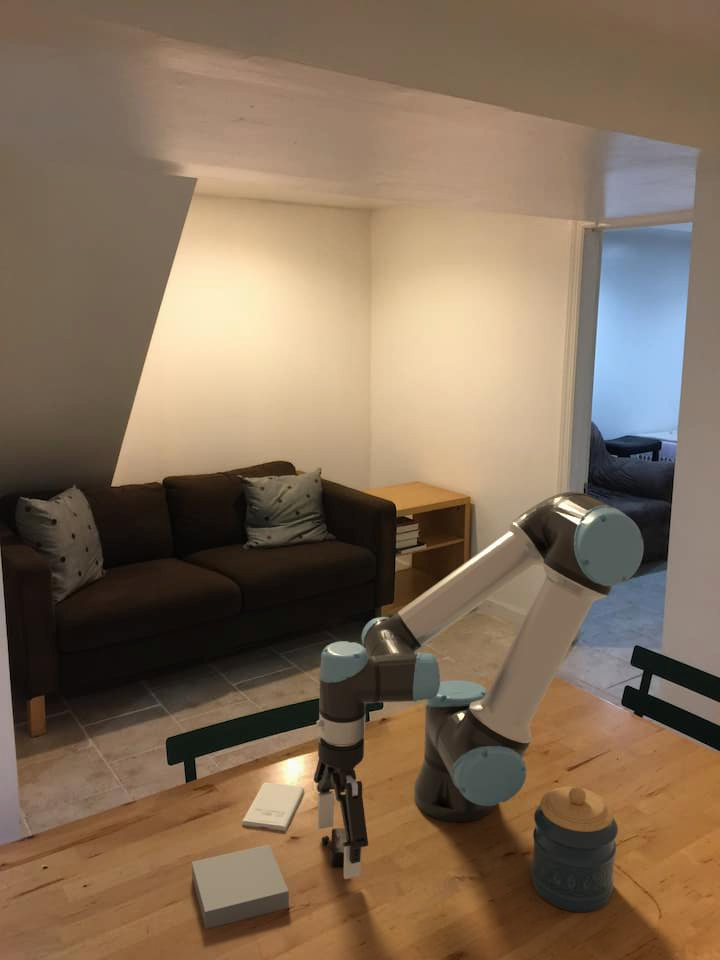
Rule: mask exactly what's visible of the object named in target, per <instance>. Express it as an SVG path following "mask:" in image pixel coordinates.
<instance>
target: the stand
mask: <svg viewBox="0 0 720 960" xmlns="http://www.w3.org/2000/svg"><path fill="white" fill-rule="evenodd" d="M191 878H192V882H193V883H192V884H193V886H194V890H195V893H196V898H197V901H198V905H199V908H200V913H201V916H202V920H203V923H204V929H205V930H207V929H208V930H209V929H211V928H215V927H219V926H223V925H226V924H231V923H234V922H239V921H242V920H246V919H250V918H253V917H254V918H255V917H258V916H263V915H266V914H270V913H273V912H277V911H280V910H285V909H289V908H290V896H289V895H290V891H289V888H288V886H287V883H286V882H285V878H284V876H283V874H282V871H281V870H280V867H279V864H278V862H277V859H276V857H275V855H274V853H273V850H272V848H271V846H270V843H269V844H264V845H261V846H256V847H251V848H247V849H242V850H239V851H233V852H228V853H225V854H220V855H215V856H211V857H207V858H202V859H199V860H194V861H193V860H192V861H191Z"/></svg>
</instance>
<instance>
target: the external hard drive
mask: <svg viewBox="0 0 720 960" xmlns="http://www.w3.org/2000/svg"><path fill="white" fill-rule="evenodd" d="M304 794H305V788H304V787H303V786H298V785H290V784H284V783H282V784H281V783H275V782H266V781H265V782H263V783H262V786H261V787H260V789H259V791H258V792H257V795H256V796H255V797H254V800H253V802H252V803H251V804H250V807H249V809H248V810H247V812H246V814H245V816H244V817H243V820H242V821H241V824H242V826H246V827H247V826H248V827H255V828H266V829H268V830H275V831H276V830H277V831H283V832H286V831H287V829H288V827H289V825H290V822H291V820H292V818H293V816H294V814H295V812H296V810H297V807H298V805H299V803H300V801H301V799H302V797H303V795H304Z"/></svg>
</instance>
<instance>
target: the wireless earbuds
mask: <svg viewBox="0 0 720 960" xmlns="http://www.w3.org/2000/svg"><path fill="white" fill-rule="evenodd" d="M330 838H331V840H330ZM346 840H347V838H346V832H345V828H332V829H331V837H329V836H328V835H324V836H322V838H321V845H322V847H323V848H325V847H328V845H329V844H330V861H329V863H330V867H331V868H334V869H337V868H338V869H340V868H341V869H342V868H343V869H344V845H343V843H344V842H345V841H346Z"/></svg>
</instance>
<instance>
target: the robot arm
mask: <svg viewBox="0 0 720 960" xmlns="http://www.w3.org/2000/svg"><path fill="white" fill-rule="evenodd" d="M508 528H509V529H508V531H507V532H506V533H504V534H503V535H501V536H500V537H498V538H497V539H496V540H494V541H493V542H492V543H490V544H489V545H488V546H486V547H485V548H483V549H482V550H481V551H480V552H478V553H477V554H475V555H474V556H473V557H471V558H470V559H469V560H467V561H466V562H464V563H463V564H462V565H460V566H459V567H457V568H456V569H455V570H453V571H452V572H450V574H448V575H446V576H445V577H444V578H443V579H441V580H440V581H438V582H437V583H436V584H434V585H433V586H432V587H430V588H428V590H426V591H424V592H423V593H422V594H421V595H419V596H418V597H416V598H415V599H414V600H412V601H411V602H409V603H408V604H407V605H405V606H404V607H403V608H401V609H400V610H399V611H397V612H395V614H393V615H392V616H390V617H387V616H381V617H380V616H379V617H376V618H372V619H371V620H369V621H368V622H367V623H366V624H365V626H364V627H363V630H362V632H361V643H362V644H360V643H358V642H354V641H353V642H349V641H348V640H347V641H346V640H345V641H343V640H342V641H335V642H332V643H330V644H328V645H326V646H325V647H324V648H323V650H322V651H321V654H320V655H321V658H320V669H319V672H318V675H319V704H318V705H319V711H318V712H319V714H318V716H319V718H318V719H319V720H316V722H315V723H316V727H318V734H319V736H318V743H317V744H318V746H317V747H318V749H317V755H318V756H317V757H318V761H317V765H316V768H315V772H314V776H313V781H314V783H315V784H317V785H316V791H317V792H318V794H317V795H318V797H317V800H318V801H317V803H318V804H317V828H318V830H322V829H326V828H332V827H334V816H335V815H334V814H335V812H334V811H335V799H336V800H337V801H338V802H339V804H340V810H341V815H342V816H341V817H342V821H343V825H344V829H345V832H346V838H347V840H346V841H345V842H344V843H343V845H344V868H343V879H344V880H349V879H352V878H356V877H360V876H361V875H362V874H361V872H362V851H363V849H362V848H366V847H368V846H369V840H368V838H369V837H368V832H367V823H366V814H365V807H364V799H363V798H364V797H363V783H362V781H361V780H359V781H358V780H357V775H356V771H355V768H356V766H358V765H359V764H360V763H361V762H362V761H363V759H364V753H365V738H364V737H365V733H366V705H367V704H377V703H396V702H397V703H400V702H414V703H415V702H417V701H423V700H425V702H424V706H425V714H424V715H425V716H424V717H425V718H424V719H425V720H424V721H425V722H424V723H425V724H424V754H423V756H424V757H423V758H424V759H423V761H422V763H421V765H420V766H421V767H420V769H419V771H418V774H417V777H416V779H415V782H414V786H413V789H414V790H413V798H414V803H415V804H416V806H417V807H418V808H419V809H420V810H421V811H422V812H424V814H426V815H428V816H430V817H432V818H433V819H437V820H440V821H444V822H448V823H450V822H451V823H467V822H473V821H477V820H479V819H481V818H483V817H485V816H486V815H488V814H489V813H490V812H491V810H492V809H493V808H494V806H496V805H498V804H500V803H505V802H508V801H510V800H511V799H512V798H514V797H515V796H516V795H517V794H518V793H519V792H520V791H521V789H522V788H523V786H524V784H525V782H526V779H527V768H526V763H525V760H524V759H523V757H524V755H525V754H526V751H527V749H528V747H529V745H530V744H531V742H532V740H533V735H532V733H531V731H530V730H531V729H530V723H531V722H532V720H533V717H534V716H535V714H536V712H537V710H538V708H539V706H540V704H541V703H542V701H543V698H544V697H545V695H546V693H547V691H548V689H549V687H550V685H551V683H552V682H553V680H554V677H555V676H556V675H557V674H556V673H557V672H558V670H559V668H560V666H561V664H562V662H563V660H564V658H565V656H566V655H567V652H568V651H569V650H570V647H571V645H572V644H573V641H574V639H575V638H576V636H577V634H578V632H579V630H580V628H581V626H582V624H583V623H584V621H585V619H586V617H587V615H588V613H589V611H590V609H591V607H592V606H593V603H594V602H595V601H599V600H600V599H604V598H607V597H608V595H609V594H610V592H611V589H612V588H613V587H614V586H616V585H620V584H622V582H623V581H627V580H629V579H631V577H632V576H634V575H635V574H636V573H637V570H638V569H639V568H640V565H641V562H642V560H643V555H644V548H645V547H644V539H643V537H642V536H643V535H642V534H641V530H640V528H639V527H638V525H637V524H636V523H635V521H634V520H633V519H632V518H630V517H629V516H627V515H626V514H625V513H624V512H622V511H621V510H619V509H618V508H616V507H613V506H610V505H609V504H606V503H604V502H602V501H600V500H597V499H596V498H595V497H593V496H592V495H591V496H590V495H589V494H586V493H583V492H579V491H569V492H567V491H566V492H562V493H558V494H555V495H553V496H552V495H551V496H550V497H548V498H546V499H544V500H542V501H540V502H539V503H537V504H535V505H534V506H532V507H531V508H529V509H528V510H526V511H525V512H522V514H520V515H519V516H518V517H516V518H515V519H514V520H512V521H511V522H510V523H509V527H508ZM534 566H540V567H543V569H544V573H545V578H544V580H543V582H542V584H541V586H540V588H539V590H538V591H537V593H536V595H535V597H534V600H533V601H532V604H531V605H530V607H529V609H528V611H527V613H526V615H525V617H524V619H523V621H522V623H521V624H520V626H519V629H518V631H517V633H516V635H515V637H514V639H513V640H512V642H511V644H510V646H509V648H508V650H507V652H506V654H505V656H504V658H503V660H502V662H501V663H500V666H499V667H498V669H497V671H496V673H495V675H494V676H493V679H492V681H491V683H490V685H489V687H488V689H487V688H486V687H485V686H483V685H482V684H479V683H478V682H477V683H476V682H473V681H468V680H445V681H441V674H440V666H439V662H438V660H437V658H436V656H435V655H434V654H433V653H431V652H430V653H427V652H421V651H420V652H417V651H418V650H419V649H420V648H422V647H423V646H425V645H426V644H427V643H429V642H430V641H432V640H433V639H434V638H436V637H438V635H440V634H441V633H442V632H444V631H446V629H448V628H450V627H451V626H452V625H453V624H455V623H457V622H458V621H459V620H460V619H462V618H463V617H465V616H466V615H468V614H469V613H470V612H472V611H473V610H475V608H477V607H479V606H480V605H481V604H483V603H484V602H486V601H487V600H488V599H490V598H491V597H492V596H494V595H495V594H497V593H498V592H499V591H501V590H502V589H503V588H505V587H506V586H508V584H510V583H512V582H513V581H515V580H516V579H517V578H518V577H520V576H521V575H523V574H524V573H525V572H527V571H528V570H529V569H531V568H532V567H534ZM356 780H357V781H356ZM330 790H331V791H330ZM333 790H334V791H333ZM341 793H344V794H341Z"/></svg>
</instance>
